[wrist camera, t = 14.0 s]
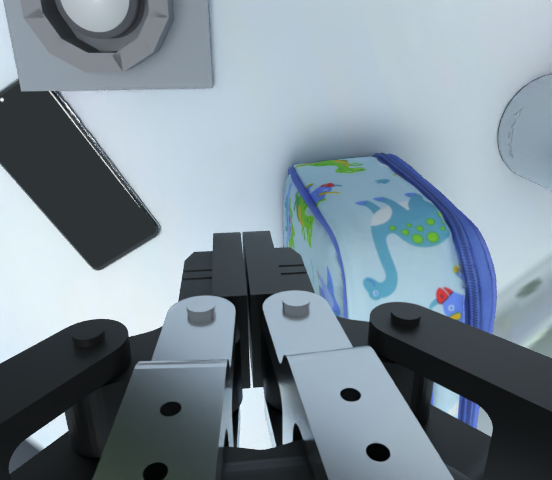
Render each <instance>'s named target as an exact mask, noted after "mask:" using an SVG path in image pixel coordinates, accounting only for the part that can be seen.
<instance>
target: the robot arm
mask: <svg viewBox="0 0 552 480" xmlns="http://www.w3.org/2000/svg"><path fill="white" fill-rule="evenodd" d="M498 144H499V150H500V153H501V156H502V158H503V161H504V162H505V163H506V165H507V166H508V167H509V168H510V169H511V170H512V171H513V172H514V173H516V174H518V175H520V176H522V177H524V178H526V179H528V180H530V181H532V182H534V183H537V184H539V185H541V186H543V187H545V188H547V189H549V190H551V191H552V74H550V75H545V76H543V77H540V78H538V79H536V80H534V81H532V82H531V83H529V84H528V85H527V86H525V87H524V88H523V89H522V90H521V91H520V92H519V93H518V94H517V95H516V96H515V97H514V98H513V99H512V101H511V102H510V104H509V105H508V106H507V108H506V110H505V113H504V115H503V117H502V119H501V123H500V127H499V134H498ZM249 348H250V358H251V369H252V379H253V388H255V387H264V401H265V418H266V422H267V426H268V431H269V435H270V440H271V444H272V448H270V449H266V450H255V449H246V448H239V434H240V404H241V402H242V389H244V388H250V364H249ZM434 382H435V383H437V384H439V385H441V386H442V387H444V388H446V389H448V390H450V391H452V392H454V393H456V394H458V395H460V396H462V397H464V398H466V399H468V400H470V401H472V402H474V403H476V404H477V405H479V406H480V407H482V408H483V409H484V410H485V411H486V413H487V414H488V415H489V417H490V419H491V421H492V425H493V432H492V437H490V436H488V435H486V434H484V433H483V432H481V431H479V430H477V429H475V428H474V427H472V426H470V425H468V424H466V423H464V422H463V421H461V420H459V419H457V418H455V417H453V416H452V415H450V414H448V413H446V412H444V411H442V410H441V409H439V408H437V407H435V406H433V405H431V399H432V392H433V385H434ZM64 412H65V416H66V420H67V425H68V430H69V431H68V432H66V433H65V434H64V435H62V436H61V437H60V438H58V439H57V440H56V441H54V442H53V443H51V444H50V445H49V446H47V447H46V448H45V449H43V450H42V451H41V452H39V453H38V454H37V455H35V456H34V457H32V458H31V459H30V460H28V461H27V462H26V463H24V464H23V465H22V466H20V467H19V468H18V469H16V470H15V471H13V472H12V473H11V474H9V469H8V468H9V467H8V466H9V461H10V458H11V456H12V454H13V452H14V451H15V449H16V448H17V447H18V446H19V444H20V443H21V442H22V441H24V440H25V439H26V438H28V437H29V436H30V435H32V434H33V433H35V432H36V431H38V430H39V429H41V428H42V427H43V426H45V425H46V424H48V423H49V422H51V421H52V420H53V419H55V418H56V417H58V416H59V415H61V414H62V413H64ZM0 480H552V358H549V357H547V356H544V355H542V354H540V353H537V352H534V351H532V350H530V349H527V348H525V347H522V346H520V345H517V344H515V343H512V342H510V341H507V340H505V339H502V338H500V337H497V336H495V335H492V334H490V333H488V332H485V331H483V330H480V329H478V328H475V327H473V326H470V325H468V324H465V323H463V322H460V321H458V320H455V319H453V318H450V317H448V316H445V315H443V314H440V313H438V312H435V311H433V310H430V309H428V308H426V307H423V306H420V305H417V304H413V303H407V302H389V303H384V304H381V305H379V306H377V307H375V308H374V309H373V310H372V311H371V313H370V318H369V322H367V321H359V320H351V319H346V318H342V317H338V316H336V315H335V314H334V312H333V311H332V309H331V307H330V305H329V303H328V302H327V301H326V300H325V299H324V298H323V297H321V296H319V295H317V294H315V292H314V289H313V286H312V284H311V281H310V278H309V276H308V274H307V270H306V268H305V266H304V262H303V259H302V257H301V255H300V254H299V253H297V252H296V251H295V250H293V249H292V248H290V247H286V248H274V246H273V242H272V238H271V234H270V231H255V232H243V252H242V242H241V233H240V232H234V233H213V251H206V252H194V253H193V254H192V255H190V256H189V257H188V258H187V259H186V260H185V262H184V269H183V275H182V282H181V288H180V295H179V301H178V302H177V303H176V304H174V305H173V306H172V307H171V308H170V309H169V310H168V312H167V315H166V318H165V321H164V324H163V326H162V327H160V328H158V329H156V330H153V331H150V332H147V333H143V334H139V335H135V336H131V337H129V336H128V330H127V328H126V327H125V326H124V325H123V324H122V323H120V322H118V321H114V320H109V319H95V320H88V321H83V322H80V323H77V324H74V325H71V326H69V327H67V328H65V329H63V330H61V331H60V332H58V333H56V334H54V335H52V336H50V337H49V338H47V339H45V340H43V341H41V342H39V343H38V344H36V345H34V346H32V347H30V348H28V349H27V350H25V351H23V352H21V353H19V354H17V355H15V356H14V357H12V358H10V359H8V360H6V361H4V362H3V363H1V364H0Z"/></svg>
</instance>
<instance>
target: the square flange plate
mask: <svg viewBox="0 0 552 480" xmlns="http://www.w3.org/2000/svg"><path fill="white" fill-rule="evenodd" d="M3 2H4V7H5V12H6V17H7V22H8V27H9V32H10V37H11V42H12V47H13V52H14V57H15V62H16V67H17V72H18V77H19V83H20V88H21V91H73V90H130V89H186V88H213V82H212V63H211V45H210V26H209V8H208V0H145V9H144V14H143V17H142V20H141V22H140V24H139V25H138V26H137V28H136V29H135V30H134V31H133V32H131V33H130V34H128V35H126V36H124V37H120V38H112V39H96V38H90V37H87V36H85V35H83V34H80V33H79V32H77V31H76V30H74V29H73V28H72V27H71V26H70V25H69V24H68V23H67V22H66V21H65V20H64V19H63V17H62V15H61V14H60V12H59V10H58V8H57V5H56V3H55V0H3Z"/></svg>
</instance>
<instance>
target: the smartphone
mask: <svg viewBox="0 0 552 480" xmlns="http://www.w3.org/2000/svg"><path fill="white" fill-rule="evenodd" d="M0 164H1V166H2V167H3V168H4V169H5V170H6V171H7V172H8V174H9V175H10V176H11V177H12V178H13V179H14V180H15V181H16V183H17V184H18V185H19V186H20V187H21V188H22V189H23V191H24V192H25V193H26V194H27V195H28V196H29V197H30V199H31V200H32V201H33V202H34V203H35V204H36V205H37V206H38V208H39V209H40V210H41V211H42V212H43V213H44V214H45V216H46V217H47V218H48V219H49V220H50V221H51V222H52V224H53V225H54V226H55V227H56V228H57V229H58V230H59V231H60V233H61V234H62V235H63V236H64V237H65V238H66V239H67V241H68V242H69V243H70V244H71V245H72V246H73V247H74V248H75V250H76V251H77V252H78V253H79V254H80V255H81V256H82V258H83V259H84V260H85V261H86V262H87V263H88V264H89V266H90V267H91V268H93V269H94V270H102V269H104V268H106V267H108V266H109V265H111V264H113V263H114V262H116V261H118V260H119V259H121V258H122V257H124V256H126V255H127V254H129V253H131V252H132V251H134V250H136V249H137V248H139V247H140V246H142V245H144V244H145V243H147V242H149V241H150V240H152V239H154V238H155V237H157V236H158V235H159V234H160V232H161V227H160V225H159V224H158V222H157V221H156V220H155V218H154V217H153V216H152V215H151V213H150V212H149V211H148V209H147V208H146V207H145V206H144V204H143V203H142V202H141V200H140V199H139V198H138V196H137V195H136V194H135V193H134V191H133V190H132V189H131V187H130V186H129V185H128V183H127V182H126V181H125V180H124V178H123V177H122V176H121V174H120V173H119V172H118V170H117V169H116V168H115V167H114V165H113V164H112V163H111V161H110V160H109V159H108V158H107V156H106V155H105V154H104V152H103V151H102V150H101V148H100V147H99V146H98V144H97V142H96V141H95V140H94V138H93V137H92V136H91V135H90V133H88V131H87V130H86V129H85V127H84V126H83V125H82V123H81V122H80V120H79V119H78V118H77V116H76V115H75V114H74V112H73V111H72V110H71V109H70V107H69V106H68V105H67V103H66V102H65V101H64V100H63V99H62V98H61V97H60V95H59V94H58V93H57V91H21V88H20V83H19V78H18V79H16V80H15V81H14V82H12V83H11V84H9V85H8V86H6V87H5V88H3V89H2V90H0Z"/></svg>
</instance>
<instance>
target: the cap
mask: <svg viewBox="0 0 552 480" xmlns="http://www.w3.org/2000/svg"><path fill="white" fill-rule="evenodd" d="M55 3H56V5H57V8H58V10H59V12H60V14H61V15H62V17H63V19H64V20H65V21H66V22H67V23H68V24H69V25H70V26H71V27H72V28H73V29H74V30H76V31H77V32H79V33H80V34H83V35H85V36H87V37H90V38H96V39H112V38H120V37H124V36H126V35H128V34H130V33H131V32H133V31H134V30H135V29H136V28H137V26H138V25H139V24H140V22H141V20H142V17H143V14H144V9H145V0H55Z"/></svg>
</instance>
